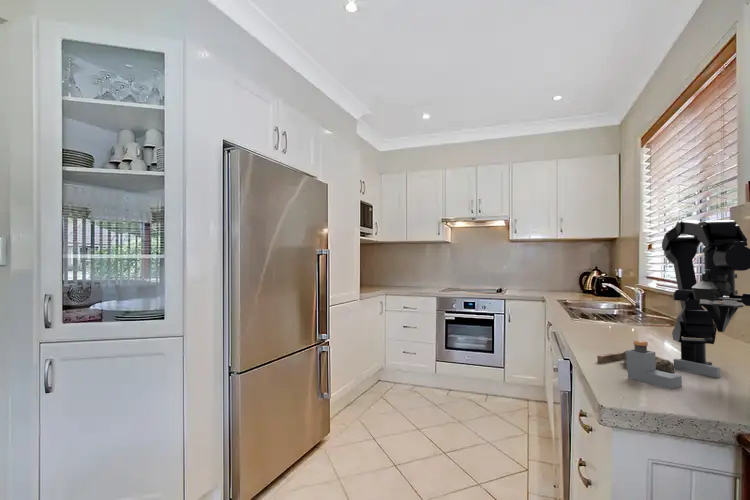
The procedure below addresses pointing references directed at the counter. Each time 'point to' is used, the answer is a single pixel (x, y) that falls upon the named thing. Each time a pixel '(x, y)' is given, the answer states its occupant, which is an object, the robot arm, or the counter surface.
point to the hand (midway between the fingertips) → (721, 331)
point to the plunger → (640, 346)
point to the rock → (660, 363)
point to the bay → (645, 371)
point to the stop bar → (609, 357)
